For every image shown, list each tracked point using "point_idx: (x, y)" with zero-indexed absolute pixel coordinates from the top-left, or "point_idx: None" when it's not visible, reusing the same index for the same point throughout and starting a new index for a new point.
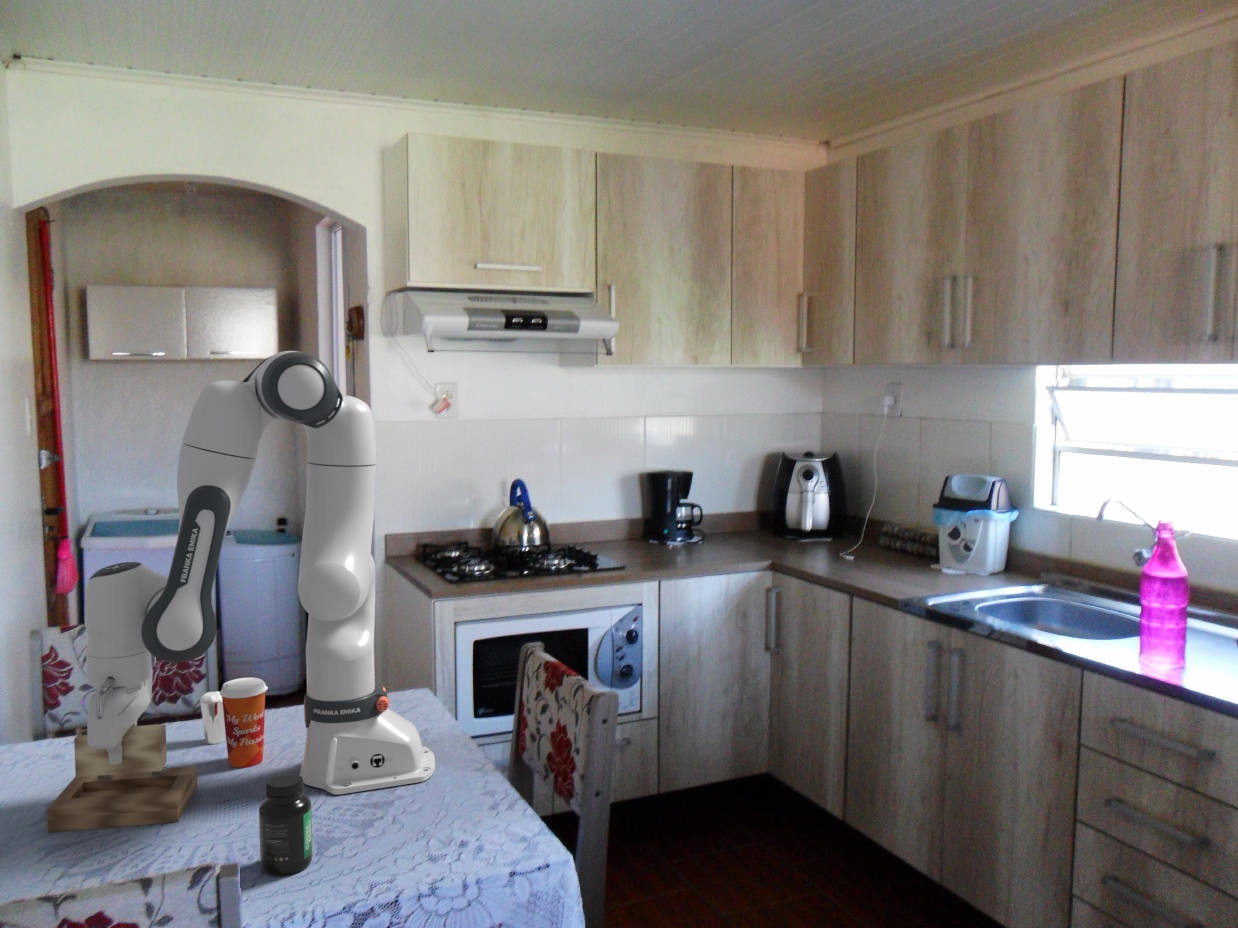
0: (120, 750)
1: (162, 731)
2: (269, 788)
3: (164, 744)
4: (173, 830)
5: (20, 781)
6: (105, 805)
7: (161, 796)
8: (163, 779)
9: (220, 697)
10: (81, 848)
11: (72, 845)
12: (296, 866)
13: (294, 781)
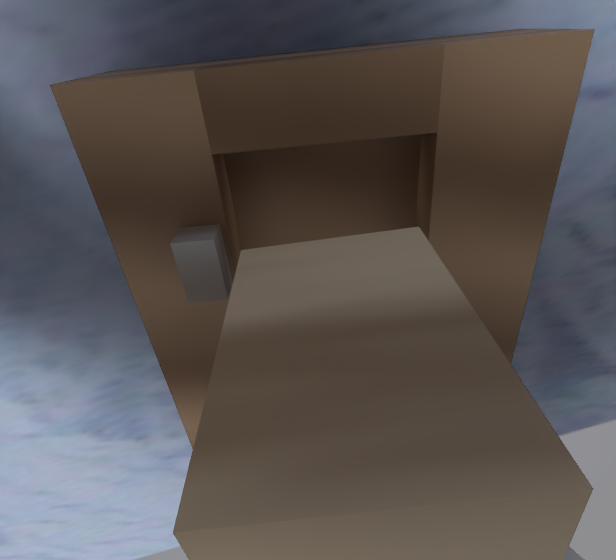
0: (572, 550)
1: (404, 473)
2: None
3: (289, 331)
4: (613, 19)
5: (149, 543)
6: (512, 347)
7: (502, 148)
8: (230, 224)
9: None
10: (608, 308)
11: (573, 337)
12: None
13: None
